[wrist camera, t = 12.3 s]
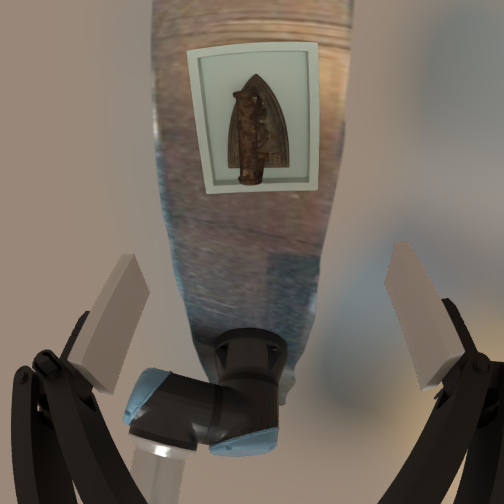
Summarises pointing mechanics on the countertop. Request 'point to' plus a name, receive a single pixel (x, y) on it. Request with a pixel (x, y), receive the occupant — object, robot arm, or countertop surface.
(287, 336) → the countertop surface
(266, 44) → the iron rest
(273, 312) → the countertop surface
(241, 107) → the clothes iron
